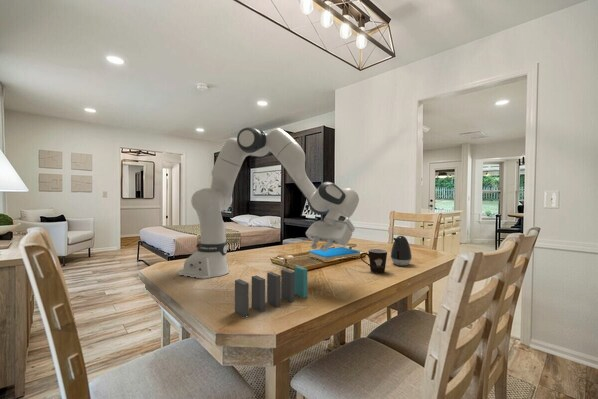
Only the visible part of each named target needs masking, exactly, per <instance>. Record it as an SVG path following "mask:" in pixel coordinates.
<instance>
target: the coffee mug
mask: <svg viewBox="0 0 598 399" xmlns="http://www.w3.org/2000/svg"><path fill="white" fill-rule="evenodd" d="M363 255H366V256H367V257H368V259H369V263H368V262H367V261H365V260H364V259H363V258H362V256H363ZM387 256H388V250H386V249H381V248H370V249H368V253H367V252H362V253H361V254H360V259H361V261H362V262H363V263H364V264H366V265H368V266H369V268H370V272H371V273H373V274H376V275H377V274H378V275H379V274H385V273H386V266H387Z"/></svg>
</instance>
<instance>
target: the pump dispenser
mask: <svg viewBox="0 0 598 399" xmlns="http://www.w3.org/2000/svg"><path fill="white" fill-rule="evenodd" d="M392 240H393V243H392V247H391V250H390V259H391V260H392V263H393V264H395V265H396V266H401V267H406V266H408V265H409V264H410V263H411V261H412V259H413V258H412V250H411V246H410V243H409V241H408V239H407V237H405V236H404V235H398V236H397V237H393V238H392Z"/></svg>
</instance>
